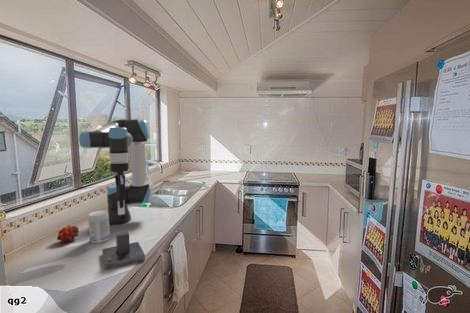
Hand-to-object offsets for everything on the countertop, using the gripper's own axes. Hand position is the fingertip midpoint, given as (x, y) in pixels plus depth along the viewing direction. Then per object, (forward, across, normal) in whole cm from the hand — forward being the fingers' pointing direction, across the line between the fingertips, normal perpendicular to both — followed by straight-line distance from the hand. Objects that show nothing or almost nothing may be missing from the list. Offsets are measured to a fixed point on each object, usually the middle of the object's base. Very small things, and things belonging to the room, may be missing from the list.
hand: (121, 214), depth 119 cm
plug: (+20, 0, 0) cm, 20 cm away
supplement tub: (+21, +26, +8) cm, 34 cm away
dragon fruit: (+21, +34, +22) cm, 45 cm away
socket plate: (+20, 0, 0) cm, 20 cm away
